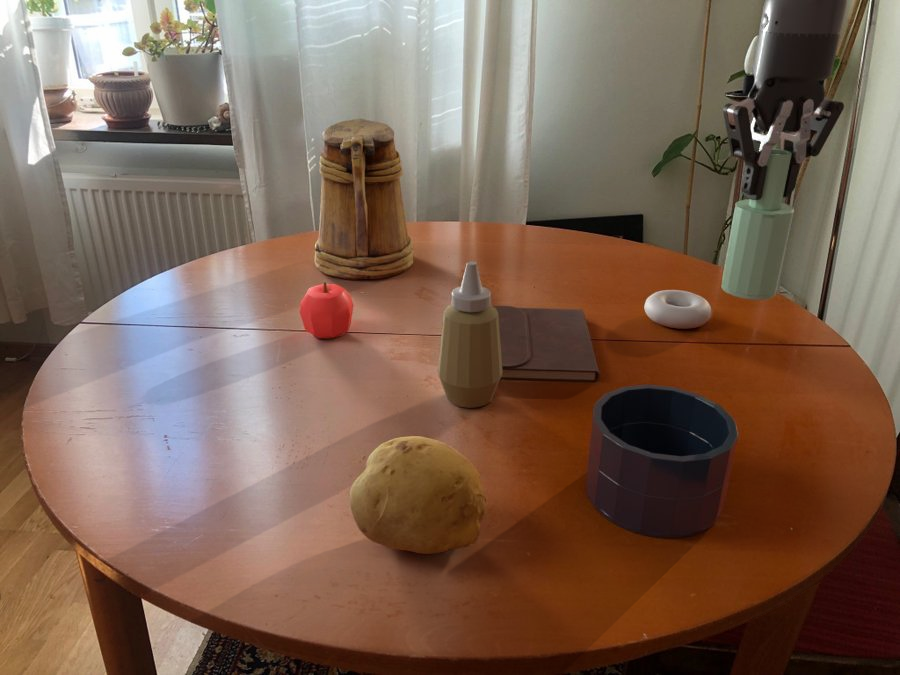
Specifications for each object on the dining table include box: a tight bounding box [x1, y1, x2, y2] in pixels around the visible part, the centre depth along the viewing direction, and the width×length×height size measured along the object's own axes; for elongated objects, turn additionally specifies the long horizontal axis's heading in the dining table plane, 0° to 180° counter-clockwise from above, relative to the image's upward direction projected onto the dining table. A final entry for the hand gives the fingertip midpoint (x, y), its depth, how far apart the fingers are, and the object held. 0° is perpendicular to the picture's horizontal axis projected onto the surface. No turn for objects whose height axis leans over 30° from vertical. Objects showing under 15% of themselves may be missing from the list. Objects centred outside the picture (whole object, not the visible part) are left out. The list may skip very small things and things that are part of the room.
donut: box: [643, 289, 712, 330], centre depth 114 cm, size 10×4×10 cm
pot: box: [585, 384, 739, 539], centre depth 74 cm, size 14×14×9 cm
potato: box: [348, 435, 487, 555], centre depth 69 cm, size 10×12×10 cm
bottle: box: [720, 148, 795, 301], centre depth 83 cm, size 6×6×16 cm
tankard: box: [313, 117, 415, 281], centre depth 129 cm, size 18×24×25 cm
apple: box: [299, 281, 355, 340], centre depth 109 cm, size 8×8×8 cm
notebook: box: [492, 305, 601, 383], centre depth 106 cm, size 15×20×2 cm
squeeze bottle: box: [437, 261, 503, 409], centre depth 90 cm, size 8×8×18 cm
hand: (766, 196), depth 82 cm, fingers closed on bottle, 3 cm apart
